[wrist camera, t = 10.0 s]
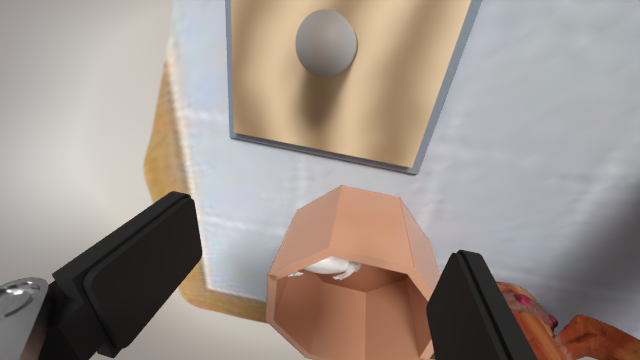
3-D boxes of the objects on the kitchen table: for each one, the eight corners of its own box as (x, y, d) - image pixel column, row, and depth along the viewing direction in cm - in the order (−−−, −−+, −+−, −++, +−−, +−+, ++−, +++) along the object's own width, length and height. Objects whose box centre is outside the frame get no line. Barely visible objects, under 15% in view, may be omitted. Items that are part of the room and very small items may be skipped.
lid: (497, -87, 16) (577, -173, 10) (410, 163, 25) (424, 200, 18) (234, -116, 18) (163, -205, 11) (238, 129, 26) (198, 153, 20)
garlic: (345, 282, 21) (342, 236, 22) (279, 277, 24) (279, 237, 25) (371, 265, 28) (368, 231, 29) (318, 263, 31) (316, 232, 32)
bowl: (443, 206, 26) (480, 282, 18) (400, 300, 34) (411, 386, 25) (301, 176, 28) (270, 233, 19) (289, 273, 35) (263, 346, 26)
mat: (518, -104, 16) (521, -107, 16) (416, 172, 25) (417, 174, 25) (223, -134, 18) (220, -138, 17) (231, 135, 27) (229, 137, 27)
